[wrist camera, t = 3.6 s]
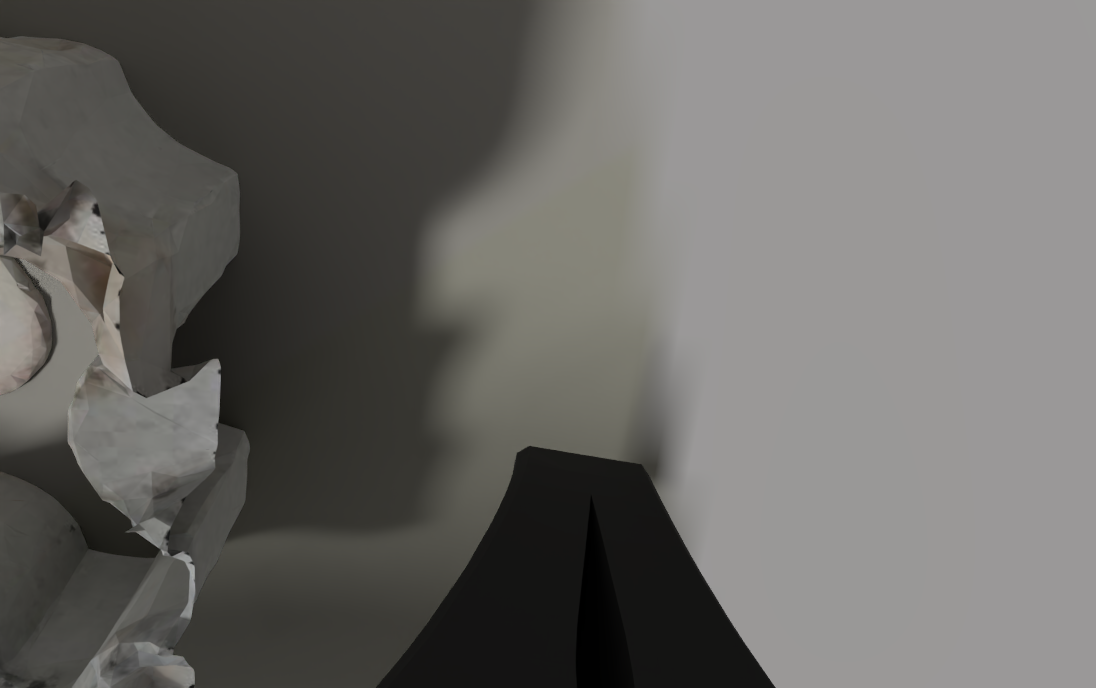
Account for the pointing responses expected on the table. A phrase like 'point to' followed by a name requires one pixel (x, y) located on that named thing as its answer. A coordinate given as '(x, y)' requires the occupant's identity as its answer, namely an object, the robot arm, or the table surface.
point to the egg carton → (110, 370)
